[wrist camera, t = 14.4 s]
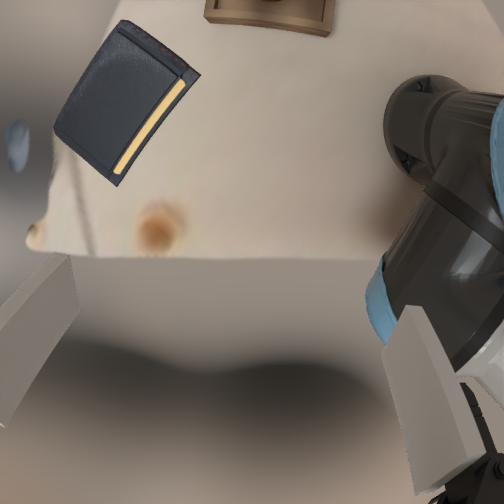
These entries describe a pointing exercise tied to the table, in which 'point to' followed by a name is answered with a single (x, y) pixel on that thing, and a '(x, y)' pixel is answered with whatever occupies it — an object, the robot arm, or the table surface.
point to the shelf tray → (274, 14)
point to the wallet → (122, 99)
